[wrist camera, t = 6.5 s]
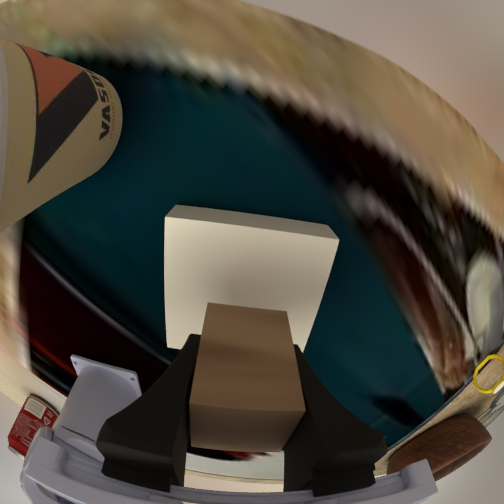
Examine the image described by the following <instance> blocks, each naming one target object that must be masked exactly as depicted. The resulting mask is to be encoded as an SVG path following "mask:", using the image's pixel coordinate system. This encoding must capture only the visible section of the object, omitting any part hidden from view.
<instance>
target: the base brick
mask: <svg viewBox="0 0 504 504" xmlns="http://www.w3.org/2000/svg"><path fill="white" fill-rule="evenodd" d="M338 243H339V239H338V237H337V236H336V235H335V234H334V232H333V231H332V230H331V229H330V227H329V226H328V225H324V224H318V223H311V222H305V221H299V220H292V219H285V218H278V217H271V216H264V215H257V214H250V213H242V212H234V211H226V210H218V209H210V208H201V207H193V206H183V205H175V206H174V207H173V209H172V210H171V211H170V212H169V213H168V214H167V215H166V216H165V241H164V287H165V317H166V336H167V347H170V348H176V349H182V347H183V346H184V344H185V342H186V340H187V338H188V336H189V334H191V333H192V334H199V335H201V334H202V328H203V323H204V318H205V313H206V308H207V303H208V302H210V303H218V304H226V305H234V306H243V307H251V308H261V309H270V310H280V311H287V315H288V320H289V325H290V330H291V335H292V340H293V344H297V345H298V346H299V348H300V349H301V351H302V353H303V350H304V348H305V345H306V342H307V340H308V337H309V334H310V331H311V328H312V326H313V323H314V320H315V317H316V314H317V311H318V308H319V305H320V302H321V299H322V296H323V293H324V290H325V287H326V284H327V281H328V277H329V274H330V271H331V267H332V264H333V261H334V257H335V254H336V250H337V247H338Z"/></svg>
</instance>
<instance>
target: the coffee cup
mask: <svg viewBox="0 0 504 504" xmlns="http://www.w3.org/2000/svg"><path fill="white" fill-rule="evenodd" d="M122 118H123V117H122V106H121V102H120V99H119V96H118V94H117V92H116V90H115V89H114V87H113V86H112V84H111V83H110V82H109V81H107V80H106V79H105V78H103V77H102V76H100V75H98V74H96V73H94V72H92V71H90V70H87V69H85V68H83V67H80V66H78V65H75V64H73V63H71V62H68V61H66V60H63V59H60V58H58V57H55V56H52V55H50V54H47V53H44V52H41V51H38V50H35V49H32V48H29V47H26V46H23V45H19V44H16V43H12V42H8V41H4V40H0V233H1V232H3V231H4V230H5V229H7V228H8V227H10V226H11V225H12V224H14V223H15V222H17V221H18V220H20V219H21V218H23V217H24V216H26V215H27V214H29V213H30V212H31V211H33V210H34V209H36V208H37V207H39V206H41V205H42V204H44V203H45V202H47V201H48V200H50V199H52V198H53V197H55V196H56V195H58V194H60V193H61V192H63V191H65V190H66V189H68V188H70V187H72V186H73V185H75V184H77V183H79V182H81V181H82V180H84V179H86V178H87V177H89V176H91V175H92V174H94V173H95V172H97V171H98V170H99V169H100V168H101V167H103V165H104V164H105V163H106V162H107V161H108V159H109V158H110V156H111V155H112V153H113V152H114V150H115V148H116V146H117V143H118V140H119V138H120V133H121V129H122Z"/></svg>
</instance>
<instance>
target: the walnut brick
mask: <svg viewBox="0 0 504 504" xmlns="http://www.w3.org/2000/svg"><path fill="white" fill-rule="evenodd" d="M189 407H190V431H191V446H193V447H200V448H208V449H218V450H229V451H245V452H280V451H281V450H282V448H283V447H284V445H285V444H286V442H287V440H288V439H289V437H290V436H291V434H292V433H293V431H294V429H295V428H296V426H297V425H298V423H299V421H300V420H301V418H302V416H303V415H304V413H305V411H306V409H305V403H304V398H303V393H302V387H301V382H300V376H299V371H298V366H297V361H296V356H295V350H294V345H293V340H292V335H291V330H290V325H289V320H288V315H287V311H280V310H270V309H261V308H251V307H243V306H234V305H226V304H218V303H210V302H208V303H207V308H206V313H205V318H204V323H203V328H202V334H201V339H200V344H199V350H198V355H197V361H196V367H195V372H194V378H193V384H192V390H191V396H190V402H189Z"/></svg>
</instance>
